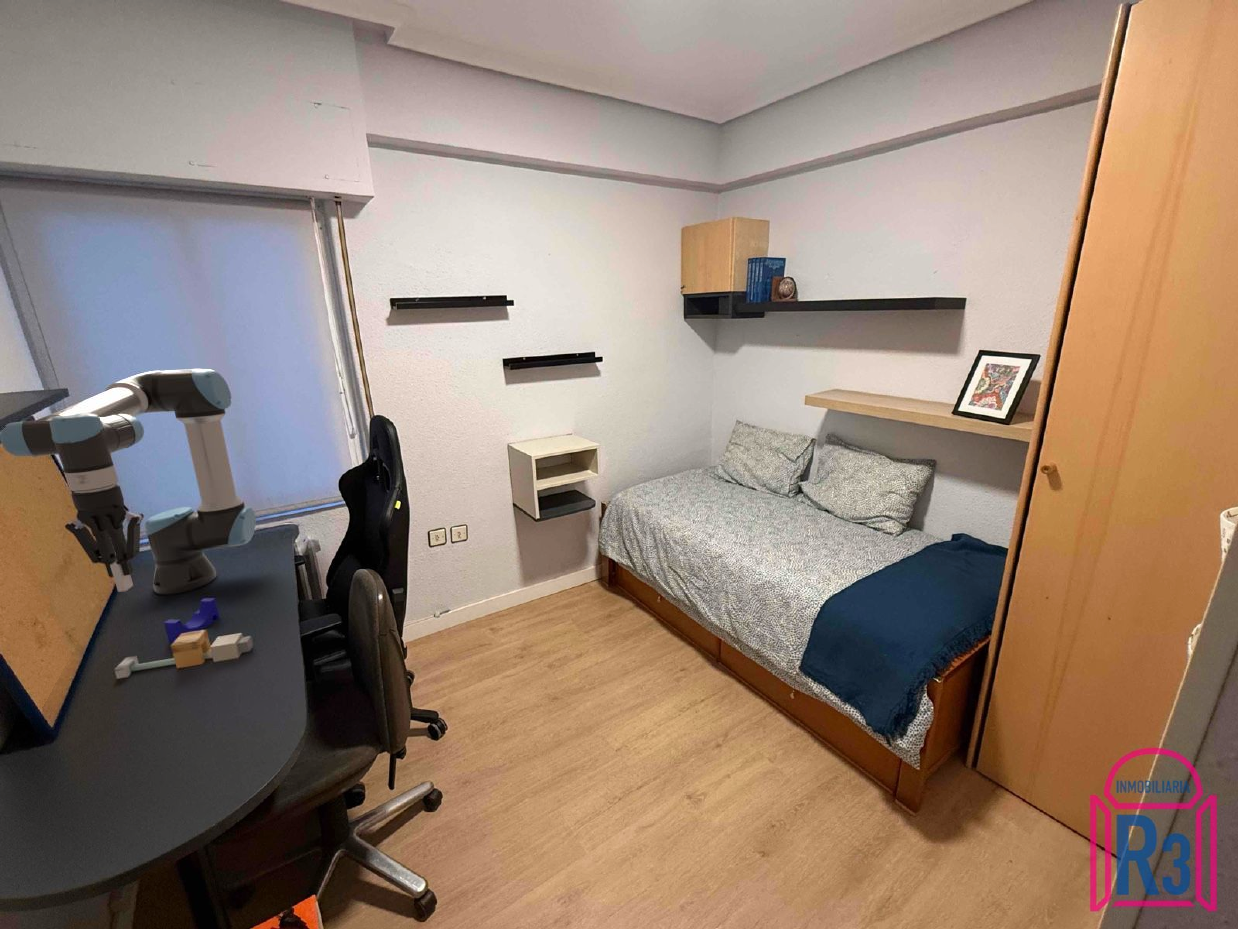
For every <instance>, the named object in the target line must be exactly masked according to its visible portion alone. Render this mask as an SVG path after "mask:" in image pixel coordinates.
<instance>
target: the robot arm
mask: <svg viewBox="0 0 1238 929" xmlns="http://www.w3.org/2000/svg"><path fill="white" fill-rule="evenodd" d="M231 400H232V394H231V391H230V387H229V385H228V383H227V381H226V379H225V378H224V377H223V376H222V374H221V373H219V372H218V371H216V370H213V369H207V368H204V369H203V368H191V369H189V368H188V369H171V370H170V369H169V370H153V371H151V370H150V371H146V372H142V373H138V374H136V375H132V376H129V377H127V378H124V379H121V380H118V381H116V382H114V383H111V384H110V385H108V386H107V387H106V389H105V390H104V391H103V392H100V393H99V394H95V395H93V396H91V397H89V398H87V399H84V400H82V401H80V402H77V403H75V404H73V405H70V406H68V407H64V408H63V409H61V410H58V411H55V412H53V413H51V414H48V415H46V416H43V417H40V418H38V419H36V420H30V421H29V420H28V421H27V420H21V421H18V422H17V421H15V422H9V423H7V424H6V425H5V426H6V427H5V428H4V427H3V428H4V429H3V428H2V429H3V430H2V429H1V431H0V443H1V444H2V448H3V449H4V450H5V451H6V452H7V453H8V454H10V455H13V456H15V457H34V458H35V457H41V456H51V455H52V456H53V455H55V456H56V455H58V456H59V459H60V463H61V465H62V469H63V474H64V476H65V480H66V483H67V486H68V489H69V490H70V491H72V493H71V494H70V495H71V499H72V502H73V506H74V509H76V511H77V512H76V518H75V519H74V520H73V521H70V522H69V523H66V524H65V526H64V528H65V529H66V530H67V531H69V532H70V533H71V534H73V535H74V537H75V538H76V540H77V542H78V544H79V545H80V546H81V548H82V549H83V551H84V552H85V553H86V555H87V556H88V558H89V559H90V561H91V562H92V564H102V565H104V566H105V569H106V572H107V575H108V576H109V578H113V579H114V583H115V586H116V589H117V592H118V593H120V592H121V593H122V592H127V591H128V590H129V589H131V587H133V586H134V584H133V581H132V577H131V574H133V573H134V568H133V565H132V561H131V560H132V559H134V558H135V557H136V556H138V555H140V550H141V549H140V548H141V547H140V546H141V545H140V544H141V540H140V539H141V523H142V521H143V519H144V517H145V515H144V513H134V512H133V511H130V509H129V508H128V506H126V504H125V501H124V499H125V498H124V496H123V492H122V488H121V486H120V485H118V483H119V477H118V475H117V472H116V468H115V465H114V462H113V458H112V453H115V452H117V451H120V450H124V449H128V448H131V447H132V446H133V445H136V444H137V443H140V441H141V440H142V439H143V438H144V435H145V434H144V433H145V430H144V426H143V424H142V423H141V421H139V419H138V418H136V417H137V416H140V415H142V414H145V413H146V414H147V413H159V412H168V413H169V412H174V415H175V419H177V420H178V421H179V422H181V423H182V424H184V429H185V434H186V437H187V438H186V439H187V443H188V447H189V452H190V456H191V460H192V464H193V469H194V474H195V478H196V483H197V487H198V488H197V489H198V491H199V495H200V500H201V502H200V504H199V505H198V506H197V507H196V511H195V510H194V509H193V507H191V506H182V507H176V508H173V509H168V510H166V511H162V512H160V513H157V514H155V515H152V516H151V517H149V518H148V519H146V521H145V523H144V527H145V528H144V529H145V536H147V537H146V538H147V540H148V543H149V547H150V552H151V554H152V558H153V560H154V564H155V568H154V575H153V581H152V586H153V590H154V593H156V594H159V595H173V594H174V595H175V594H180V593H186V592H189V591H192V590H195V589H198V588H200V587H204V586H205V585H207V584H209V583H211V582H212V581H214V580H215V579H216V577H217V571H216V568H215V566H214V565H213V564H212V563H211V562H210V560H209V559H208V557H207V556H206V554H205V552H204V550H212V549H213V550H214V549H220V548H234V547H236V546H237V547H238V546H243V545H247V544H248V543H249V542H250V541H251V540H252V538H253V535H254V533H255V528H256V521H257V520H256V514H255V510H254V509H253V508H252V507H250V506H245V501H244V499H242V498H241V497H238V496H237V493H236V488H235V483H234V478H233V473H232V469H231V468H232V467H231V464H230V458H229V454H228V449H227V443H226V439H225V434H224V430H223V425H222V421H221V420H222V419H223V417H224V416H225V415H226V409H228V408H230V406H231V404H232V401H231ZM125 520H126V524H127V527H126V531H127V532H126V536H125V533H124V524H123V523H124V521H125ZM88 528H89V529H90V530H91V532H90V530H89V529H88Z"/></svg>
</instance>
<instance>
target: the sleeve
mask: <svg viewBox="0 0 1238 929" xmlns="http://www.w3.org/2000/svg"><path fill="white" fill-rule="evenodd" d="M207 630H208V629H202V630H200V631H193V632H187V633H181V635H180V636H179V637H178V638H177V639H176V640H175V641H174V642H173V643H171V645H170V648H171V651H172V652H171V653H172V656H173V658H174V659H175V663H176V664H175V666H176V668H177V669H182V668H188V667H193V666H198V665H203V664H204V663H205V661H206V659H205V658H204V655H203V653H207V650H209V649H210V646H211V643H210V639H209V634H208V631H207Z"/></svg>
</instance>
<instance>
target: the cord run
mask: <svg viewBox="0 0 1238 929" xmlns="http://www.w3.org/2000/svg"><path fill="white" fill-rule="evenodd" d="M253 647H254V644H253V640H252V635H247V636H243V633H242V632H239V633H234V634H228V635H227V634H226V635H221V636H217V637H216V639H215V640H214V641H213V643H211V644H210V649H209V650H207V653H203V655H204V658H205V660H206V659H207V660H209V659H212V660H213V663H216V662H221V661H227V660H228V661H229V660H233V659H238V658H239V657H240V656H241V654H242V653H246V652H250V651H251V649H252V648H253ZM137 656H138V655H134V656H128V657H125V658H124V659H123V660H122V661H121V662H120V663H119V664H118V665H117V666H116V667H115V668H114V672H115V676H116V679H123V678H124V679H125V678H128V677H129V676H130V675H131V673H132V672H137V671H143V670H149V669H155V668H161V667H166V666H172V665H176V663H175V659H174V657H172V658H167V659H161V660H154V661H149V662H143V663H139V659H138V657H137Z"/></svg>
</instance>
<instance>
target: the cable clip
mask: <svg viewBox="0 0 1238 929" xmlns="http://www.w3.org/2000/svg"><path fill="white" fill-rule="evenodd" d="M199 603H200V608H199V609H198V610H196V611H195V612H194V613H193V614H192V616H191V617H190V619H189V620H188V621H187V622H186V623H185V624H183V623H182V621H181V619H170V618H169V619H168V620H166V621H164V622H163V625H164V629H165V632H166V635H167V639H168V642H169V644H173V642H174V641H175V640H176V639H177V638H178V637H179V636H180V635H181V633H187V632H193V631H200V630H204V629H205V628H206V627H208V626H209V625H211V624H212V623H214V622H216V621H217V620H219V619H220V618H221V617H220V612H219V609H218V605H217V602H216V598H215V597H214V598H211V597H208V598H206V597H205V598H203V599H201V600H199Z"/></svg>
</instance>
